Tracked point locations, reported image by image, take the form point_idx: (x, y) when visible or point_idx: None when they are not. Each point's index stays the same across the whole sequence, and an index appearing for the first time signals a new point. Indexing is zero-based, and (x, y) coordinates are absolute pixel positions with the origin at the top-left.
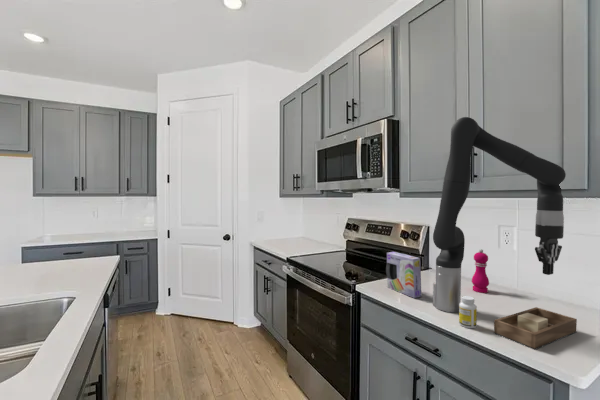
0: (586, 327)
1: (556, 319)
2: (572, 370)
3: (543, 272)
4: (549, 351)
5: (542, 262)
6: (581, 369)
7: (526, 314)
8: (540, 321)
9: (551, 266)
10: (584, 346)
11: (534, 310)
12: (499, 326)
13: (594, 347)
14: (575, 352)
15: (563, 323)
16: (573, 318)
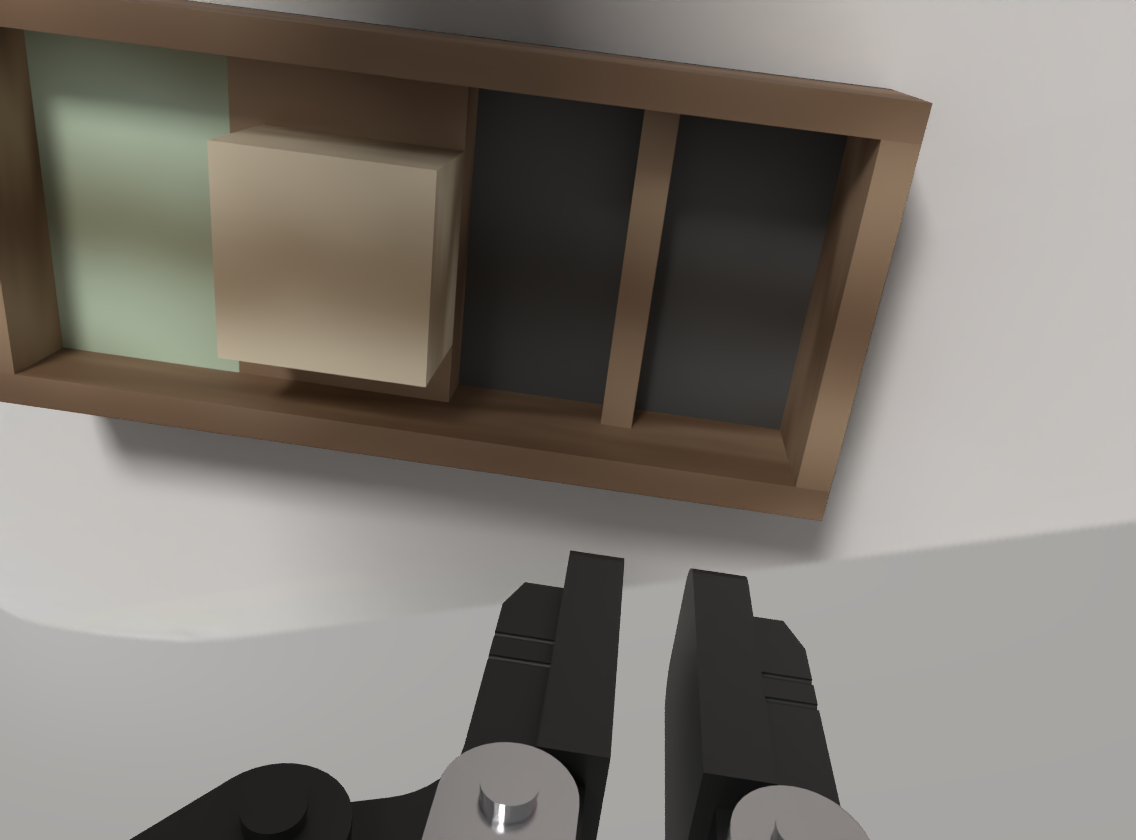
0: (1038, 482)
1: (819, 331)
2: (22, 576)
3: (571, 573)
4: None
5: (466, 772)
6: (89, 604)
7: (349, 190)
8: (265, 364)
9: (672, 835)
10: (504, 552)
11: (790, 126)
12: None
13: None
14: (321, 535)
15: (542, 474)
16: (813, 498)
